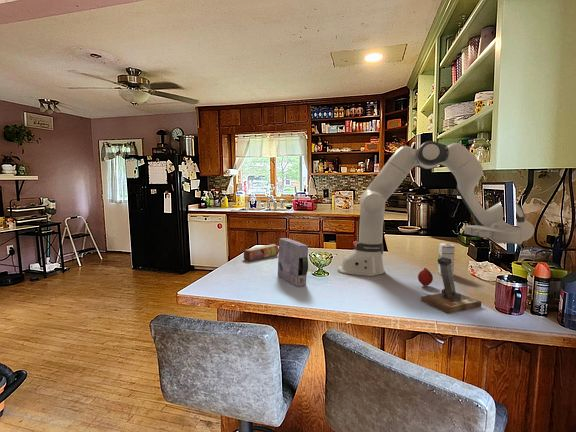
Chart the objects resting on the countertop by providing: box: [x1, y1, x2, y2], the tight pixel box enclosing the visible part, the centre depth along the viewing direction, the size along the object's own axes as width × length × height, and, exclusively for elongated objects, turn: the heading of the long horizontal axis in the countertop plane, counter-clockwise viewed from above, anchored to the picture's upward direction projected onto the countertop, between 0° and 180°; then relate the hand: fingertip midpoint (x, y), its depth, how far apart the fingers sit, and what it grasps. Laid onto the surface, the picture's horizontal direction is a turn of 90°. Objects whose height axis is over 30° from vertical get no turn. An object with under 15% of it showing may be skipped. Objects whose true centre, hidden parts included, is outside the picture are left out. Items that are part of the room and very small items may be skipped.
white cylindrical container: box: [437, 242, 456, 277], centre depth 158 cm, size 6×6×14 cm
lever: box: [437, 257, 457, 299], centre depth 119 cm, size 2×4×15 cm, turn 23°
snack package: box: [243, 243, 279, 262], centre depth 190 cm, size 21×7×7 cm, turn 133°
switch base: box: [420, 288, 482, 315], centre depth 121 cm, size 16×12×5 cm
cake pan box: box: [277, 237, 309, 288], centre depth 147 cm, size 19×5×18 cm, turn 29°
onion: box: [417, 267, 434, 287], centre depth 141 cm, size 6×6×8 cm
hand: (477, 234), depth 131 cm, fingers closed
